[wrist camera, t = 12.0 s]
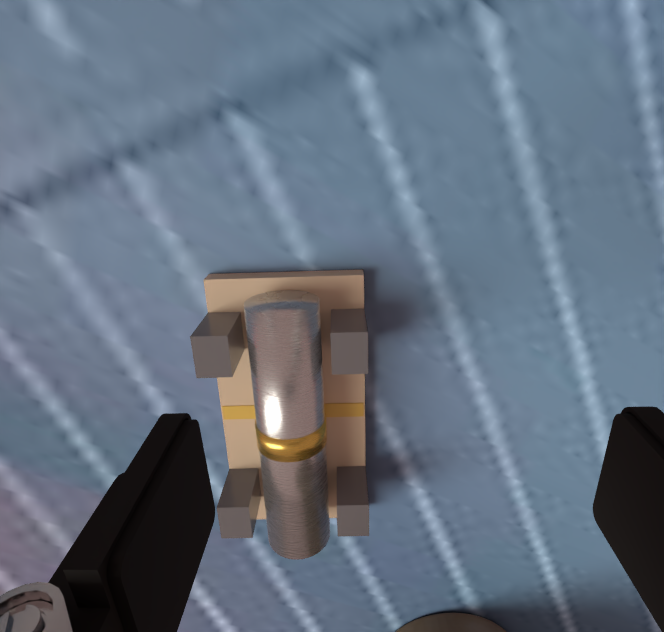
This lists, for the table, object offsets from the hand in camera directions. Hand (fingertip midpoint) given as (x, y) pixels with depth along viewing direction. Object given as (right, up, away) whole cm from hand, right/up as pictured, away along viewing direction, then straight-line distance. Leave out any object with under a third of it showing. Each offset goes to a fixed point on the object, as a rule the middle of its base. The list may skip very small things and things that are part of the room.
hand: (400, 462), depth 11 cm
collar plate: (-5, -4, +28) cm, 28 cm away
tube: (-5, -4, +26) cm, 27 cm away
